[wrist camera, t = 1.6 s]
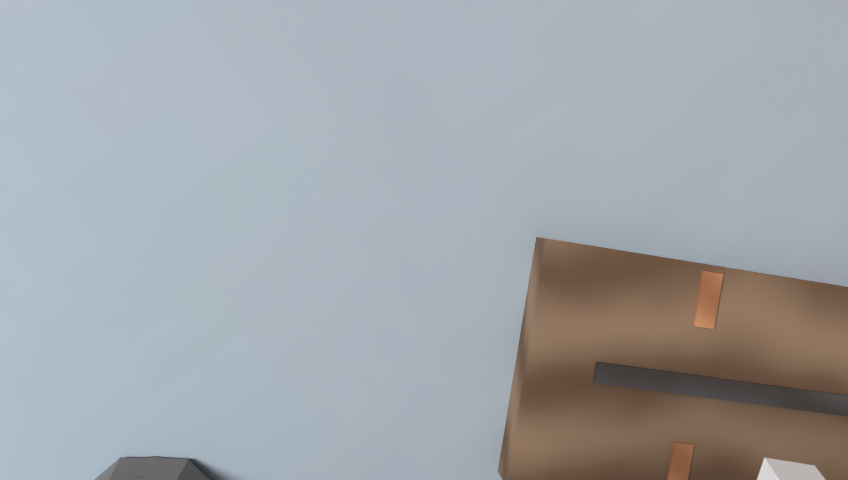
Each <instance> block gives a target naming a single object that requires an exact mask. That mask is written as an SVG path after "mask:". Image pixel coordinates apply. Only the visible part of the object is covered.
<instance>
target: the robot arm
mask: <svg viewBox="0 0 848 480" xmlns="http://www.w3.org/2000/svg"><path fill="white" fill-rule="evenodd" d="M757 480H826V479H825V478H824V477H823V476H822V474H821V473H820V472H819V471H818V469H817V468H816V467H815V465H808V464H802V463H796V462H789V461H783V460H777V459H771V458H764V460H763V463H762V466H761V469H760V472H759V475H758V478H757Z"/></svg>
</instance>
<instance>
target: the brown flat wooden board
mask: <svg viewBox="0 0 848 480" xmlns="http://www.w3.org/2000/svg"><path fill="white" fill-rule="evenodd" d="M764 458H771V459H777V460H783V461H789V462H796V463H802V464H808V465H815V467H816V468H817V469H818V471H819V472H820V473H821V474H822V476H823V477H824V478H825V479H826V480H848V287H843V286H837V285H831V284H825V283H819V282H812V281H806V280H800V279H794V278H788V277H781V276H775V275H769V274H763V273H756V272H750V271H744V270H738V269H732V268H725V267H719V266H713V265H707V264H700V263H694V262H688V261H682V260H676V259H669V258H663V257H657V256H651V255H645V254H638V253H632V252H626V251H620V250H613V249H607V248H601V247H595V246H589V245H582V244H576V243H570V242H564V241H557V240H551V239H545V238H538V237H536V243H535V249H534V255H533V262H532V268H531V274H530V280H529V286H528V292H527V298H526V304H525V310H524V316H523V322H522V328H521V335H520V341H519V347H518V353H517V359H516V365H515V371H514V377H513V383H512V389H511V395H510V401H509V408H508V414H507V420H506V426H505V432H504V438H503V444H502V450H501V456H500V462H499V468H498V472H499V474H500V476H501V477H502V479H503V480H757V478H758V475H759V472H760V469H761V466H762V463H763V460H764Z"/></svg>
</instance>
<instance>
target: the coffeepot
mask: <svg viewBox="0 0 848 480" xmlns="http://www.w3.org/2000/svg"><path fill="white" fill-rule="evenodd" d="M95 480H211V479H210V478H209V477H208V476H206V475H205V474H204V473H203V472H202V471H201V470H199V469H198V468H197V467H196V466H195V465H194V464H193V463H192V462H191V461H190V460H189V459H177V458H166V457H158V456H154V457H140V458H124V457H121V458H119V459H118V460H117V461H116V462H115V463H114V464H112V465H111V466H110V467H109V468H108V469H107V470H105V471H104V472H103V473H102V474H101V475H99V476H98V477H97V478H96V479H95Z"/></svg>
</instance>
